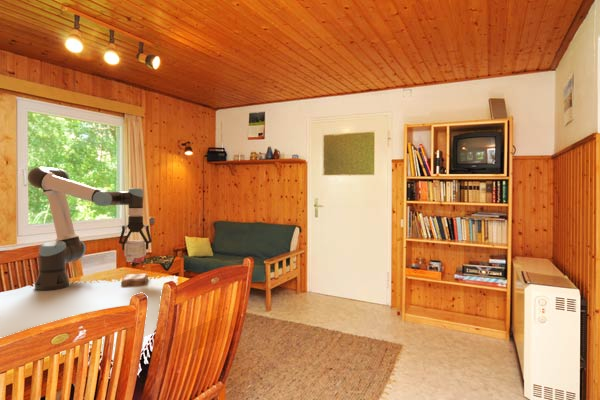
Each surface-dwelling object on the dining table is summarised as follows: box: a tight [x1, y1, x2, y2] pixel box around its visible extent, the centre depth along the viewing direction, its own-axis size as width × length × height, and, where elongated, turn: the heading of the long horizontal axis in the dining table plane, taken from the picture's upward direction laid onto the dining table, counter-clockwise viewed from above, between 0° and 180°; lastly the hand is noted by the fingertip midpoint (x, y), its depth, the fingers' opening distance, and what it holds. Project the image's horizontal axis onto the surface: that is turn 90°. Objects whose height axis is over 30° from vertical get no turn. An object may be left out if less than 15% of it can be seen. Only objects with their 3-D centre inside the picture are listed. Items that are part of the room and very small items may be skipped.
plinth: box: [121, 273, 149, 287], centre depth 204 cm, size 12×14×4 cm
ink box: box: [125, 239, 145, 263], centre depth 204 cm, size 9×5×12 cm, turn 76°
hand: (135, 255), depth 204 cm, fingers closed on ink box, 9 cm apart
